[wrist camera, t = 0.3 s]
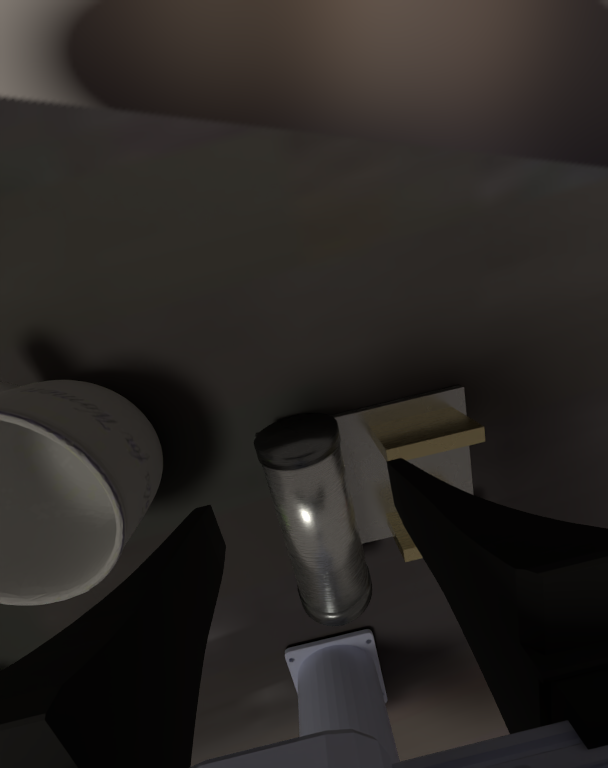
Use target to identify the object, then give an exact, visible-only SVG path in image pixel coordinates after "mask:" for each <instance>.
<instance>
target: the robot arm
mask: <svg viewBox="0 0 608 768" xmlns="http://www.w3.org/2000/svg"><path fill="white" fill-rule="evenodd" d="M386 462H387V468H388V473H389V479H390V484H391V490H392V495H393V501H394V505H395V507H396V510H397V512H398V514H399V516H400V519H401V521H402V523H403V525H404V527H405V529H406V531H407V532H408V534H409V536H410V537H411V539H412V541H413V542H414V544H415V546H416V547H417V549H418V551H419V552H420V554H421V555H422V557H423V559H424V560H425V562H426V564H427V565H428V567H429V569H430V570H431V572H432V573H433V575H434V577H435V578H436V580H437V582H438V584H439V585H440V587H441V589H442V591H443V592H444V594H445V596H446V598H447V600H448V602H449V604H450V606H451V609H452V611H453V613H454V615H455V617H456V619H457V621H458V623H459V625H460V627H461V629H462V631H463V633H464V635H465V637H466V639H467V641H468V644H469V646H470V648H471V650H472V652H473V654H474V656H475V658H476V660H477V662H478V665H479V667H480V669H481V671H482V673H483V675H484V678H485V680H486V682H487V684H488V686H489V688H490V691H491V693H492V695H493V697H494V699H495V701H496V704H497V706H498V708H499V710H500V713H501V715H502V717H503V719H504V721H505V724H506V726H507V728H508V730H509V733H510V734H509V735H505V736H501V737H497V738H493V739H489V740H485V741H481V742H477V743H473V744H469V745H465V746H461V747H457V748H453V749H449V750H445V751H441V752H437V753H433V754H429V755H425V756H421V757H417V758H413V759H409V760H405V761H401V762H400V760H399V756H398V752H397V748H396V744H395V741H394V737H393V733H392V729H391V725H390V721H389V717H388V713H387V709H386V705H385V703H386V702H387V700H388V699H387V695H386V690H385V686H384V681H383V677H382V673H381V668H380V664H379V659H378V655H377V650H376V646H375V641H374V637H373V633H372V631H371V630H370V629H364V630H360V631H356V632H352V633H348V634H344V635H340V636H335V637H331V638H327V639H323V640H319V641H315V642H311V643H306V644H302V645H298V646H294V647H290V648H287V649H286V650H285V658H286V661H287V664H288V667H289V670H290V673H291V676H292V679H293V682H294V685H295V688H296V691H297V694H298V707H299V734H300V737H297V738H293V739H289V740H285V741H281V742H277V743H273V744H269V745H265V746H261V747H257V748H253V749H249V750H245V751H241V752H237V753H233V754H229V755H225V756H221V757H217V758H213V759H209V760H205V761H203V762H201V763H199V764H196V765H194V766H192V767H190V765H191V756H192V746H193V737H194V727H195V719H196V711H197V703H198V696H199V688H200V681H201V674H202V667H203V661H204V654H205V649H206V644H207V639H208V634H209V630H210V626H211V622H212V618H213V613H214V609H215V605H216V601H217V597H218V593H219V588H220V584H221V580H222V575H223V569H224V561H225V550H226V545H225V542H224V540H223V537H222V534H221V532H220V529H219V526H218V523H217V521H216V518H215V515H214V513H213V510H212V507H211V505H207V506H203V507H199V508H196V509H194V510H193V511H192V512H191V513H190V514H189V515H188V516H187V517H186V518H185V519H184V521H183V522H182V523H181V524H180V525H179V526H178V527H177V528H176V529H175V530H174V531H173V532H172V533H171V535H170V536H169V537H168V538H167V539H166V540H165V541H164V542H163V543H162V544H161V545H160V546H159V547H158V548H157V549H156V550H155V551H154V552H153V553H152V554H151V555H150V556H149V557H148V558H147V559H146V560H145V561H144V562H143V563H142V564H141V565H140V566H139V567H138V568H137V569H136V570H135V571H134V572H133V573H132V574H131V575H130V576H129V577H128V578H127V579H126V580H125V581H124V582H122V583H121V584H120V585H119V586H118V587H117V588H116V589H114V590H113V591H112V592H111V593H110V594H109V595H107V596H106V597H105V598H104V599H103V600H101V601H100V602H99V603H98V604H96V605H95V606H94V607H92V608H91V609H90V610H89V611H87V612H86V613H85V614H84V615H82V616H81V617H80V618H78V619H77V620H76V621H75V622H73V623H72V624H71V625H69V626H68V627H67V628H65V629H64V630H62V631H61V632H60V633H58V634H57V635H55V636H54V637H53V638H51V639H50V640H48V641H47V642H45V643H44V644H42V645H41V646H39V647H38V648H37V649H35V650H34V651H32V652H31V653H29V654H28V655H26V656H25V657H23V658H22V659H20V660H18V661H17V662H15V663H14V664H12V665H10V666H9V667H7V668H6V669H4V670H2V671H1V672H0V768H608V529H606V528H600V527H594V526H588V525H581V524H575V523H570V522H565V521H560V520H555V519H551V518H546V517H542V516H538V515H534V514H530V513H526V512H523V511H519V510H516V509H512V508H509V507H506V506H503V505H500V504H496V503H494V502H491V501H488V500H485V499H483V498H480V497H477V496H475V495H472V494H470V493H468V492H465V491H463V490H461V489H459V488H457V487H454V486H452V485H450V484H448V483H446V482H444V481H442V480H440V479H438V478H436V477H434V476H433V475H431V474H429V473H427V472H425V471H424V470H422V469H420V468H418V467H417V466H415V465H413V464H411V463H410V462H408V461H406V460H404V459H403V458H398V459H394V460H390V461H386Z"/></svg>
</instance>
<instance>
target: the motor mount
mask: <svg viewBox="0 0 608 768" xmlns="http://www.w3.org/2000/svg"><path fill="white" fill-rule="evenodd" d="M482 442H485V430H484V426H482V425H481V424H479V423H477V422H476V421H474V420H473V419H471V418H469V417H468V416H467V415H466V404H465V392H464V387H463V386H461V385H456V386H452V387H448V388H443V389H439V390H435V391H431V392H427V393H422V394H418V395H414V396H410V397H406V398H401V399H397V400H393V401H389V402H385V403H380V404H376V405H372V406H368V407H364V408H359V409H355V410H351V411H347V412H343V413H339V414H334V415H326V414H320V413H309V414H301V415H296V416H292V417H288V418H285V419H282V420H280V421H277V422H275V423H273V424H271V425H269V426H267V427H266V428H264V429H263V430H262V431H261V432H259V433H256V434H255V440H254V446H255V449H256V453H257V456H258V459H259V462H260V463H261V464H262V467H263V470H264V473H265V477H266V480H267V484H268V487H269V490H270V494H271V497H272V500H273V504H274V507H275V510H276V514H277V517H278V520H279V524H280V527H281V530H282V534H283V537H284V540H285V544H286V547H287V550H288V554H289V557H290V561H291V564H292V567H293V571H294V574H295V577H296V581H297V587H298V592H299V596H300V599H301V602H302V606H303V608H304V610H305V611H306V613H307V614H308V615H309V617H311V618H312V619H313V620H314V621H316V622H318V623H320V624H323V625H327V626H340V625H344V624H347V623H350V622H352V621H353V620H355V619H357V618H358V617H359V616H360V615H361V614H362V613H363V612H364V611H365V609H366V608H367V606H368V604H369V602H370V599H371V596H372V582H371V578H370V573H369V569H368V566H367V564H366V561H365V557H364V552H363V547H362V544H363V543H367V542H371V541H375V540H380V539H384V538H388V537H392V536H393V537H394V539H395V541H396V544H397V546H398V548H399V550H400V552H401V554H402V556H403V558H404V561H405V562H408V561H412V560H416V559H420V558H423V557H422V555H421V554H420V552H419V551H418V549H417V547H416V546H415V544H414V542H413V541H412V539H411V537H410V536H409V534H408V532H407V531H406V529H405V527H404V525H403V523H402V521H401V519H400V516H399V514H398V512H397V510H396V507H395V505H394V501H393V495H392V490H391V484H390V479H389V473H388V468H387V462H386V461H390V460H394V459H398V458H403V459H404V460H406V461H408V462H410V463H411V464H413V465H415V466H417V467H418V468H420V469H422V470H424V471H425V472H427V473H429V474H431V475H433V476H434V477H436V478H438V479H440V480H442V481H444V482H446V483H448V484H450V485H452V486H454V487H457V488H459V489H461V490H463V491H465V492H468V493H470V494H472V495H473V484H472V472H471V461H470V449H469V445H473V444H477V443H482Z"/></svg>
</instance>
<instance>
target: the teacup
mask: <svg viewBox="0 0 608 768" xmlns="http://www.w3.org/2000/svg"><path fill="white" fill-rule="evenodd" d="M162 471H163V454H162V448H161V445H160V441H159V438H158V436H157V434H156V432H155V430H154V428H153V426H152V424H151V423H150V422H149V420H148V419H147V418H146V416H145V415H144V414H143V413H142V412H141V411H140V410H139V409H138V408H137V407H136V406H135V405H134V404H132V403H131V402H130V401H128V400H127V399H126V398H124V397H123V396H121V395H119V394H117V393H116V392H114V391H112V390H109V389H107V388H105V387H102V386H99V385H96V384H93V383H88V382H82V381H75V380H50V381H43V382H37V383H32V384H28V385H24V386H21V387H20V386H18V385H15V384H12V383H6V382H2V381H0V603H1V604H8V605H41V604H48V603H53V602H58V601H63V600H67V599H69V598H72V597H74V596H77V595H80V594H82V593H85V592H87V591H89V590H90V589H91V588H92V587H94V586H95V585H97V584H98V583H99V582H100V581H102V580H103V579H104V578H105V577H106V576H107V575H108V574H109V573H110V572H111V570H112V569H113V567H114V566H115V565H116V563H117V561H118V560H119V558H120V556H121V553H122V550H123V547H124V546H125V544H126V543H127V541H128V540H129V538H130V537H131V535H132V534H133V532H134V531H135V529H136V528H137V526H138V524H139V523H140V521H141V520H142V518H143V517H144V515H145V513H146V511H147V510H148V508H149V506H150V504H151V503H152V501H153V499H154V497H155V495H156V492H157V490H158V487H159V485H160V481H161V477H162Z"/></svg>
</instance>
